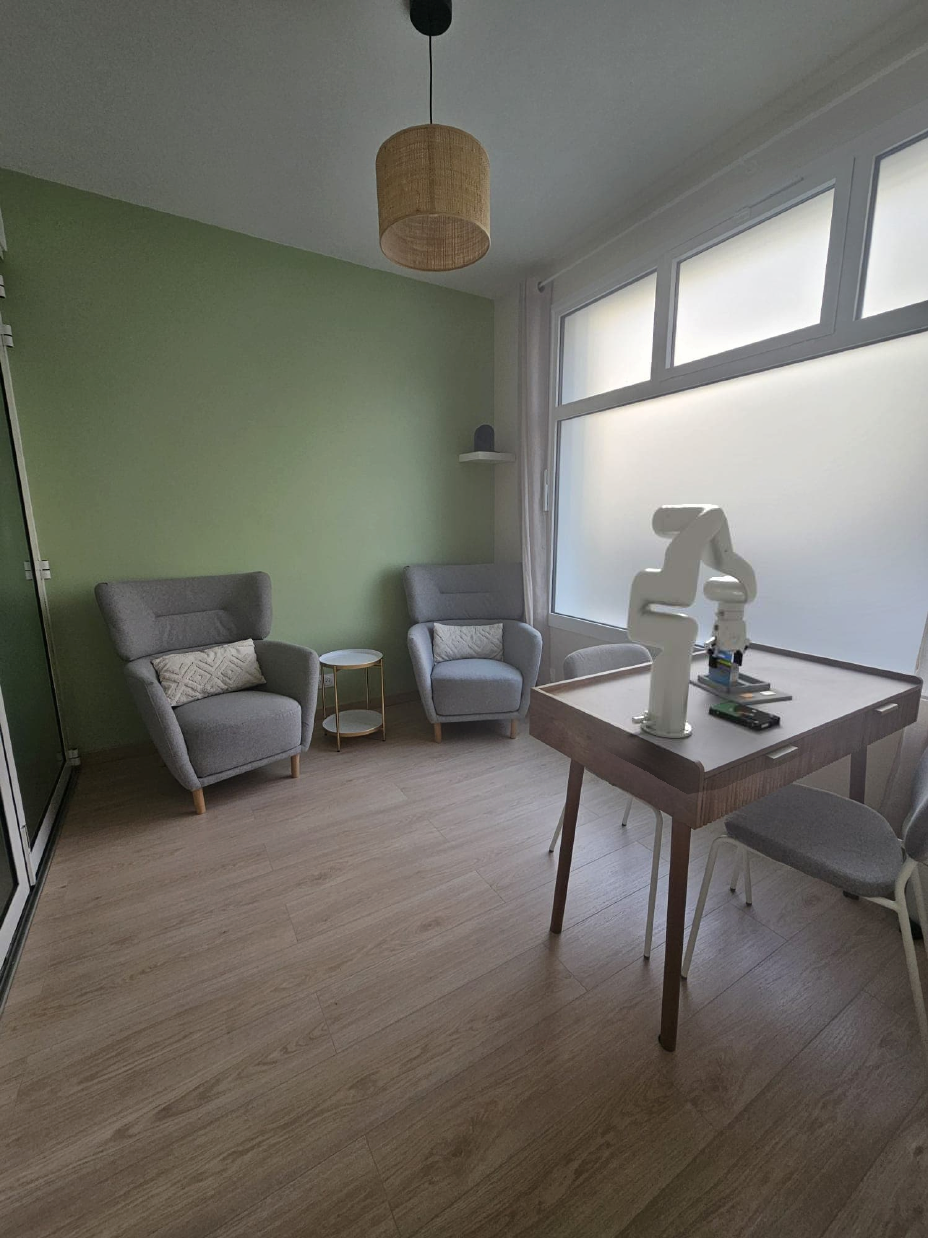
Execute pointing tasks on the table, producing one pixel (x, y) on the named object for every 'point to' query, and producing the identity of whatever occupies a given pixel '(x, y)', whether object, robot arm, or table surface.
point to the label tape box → (725, 671)
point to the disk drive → (744, 716)
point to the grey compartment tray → (742, 690)
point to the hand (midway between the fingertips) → (724, 666)
